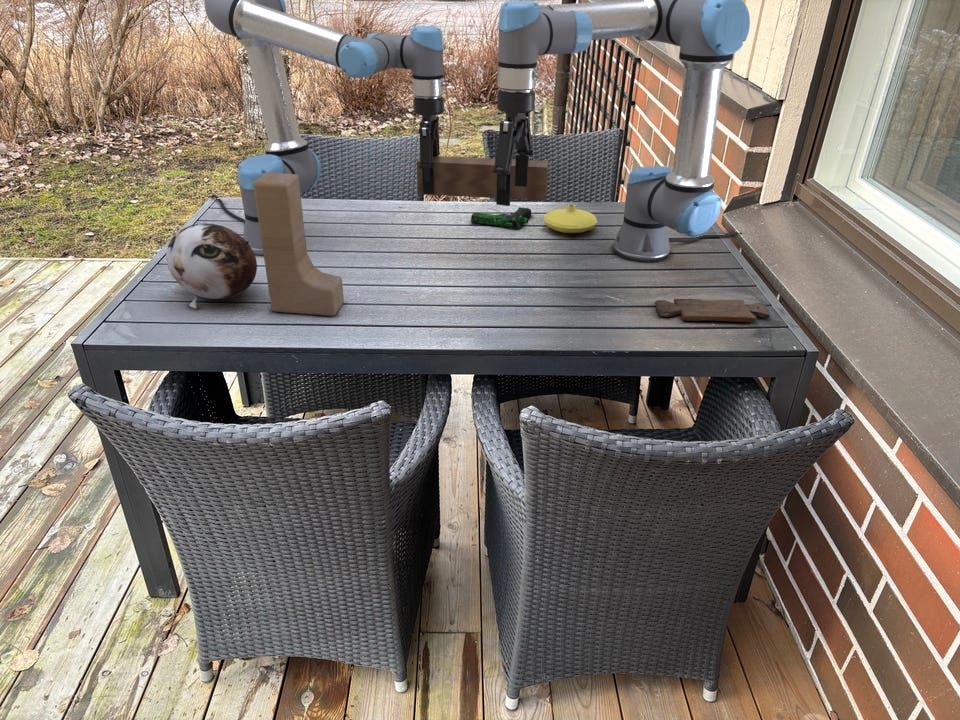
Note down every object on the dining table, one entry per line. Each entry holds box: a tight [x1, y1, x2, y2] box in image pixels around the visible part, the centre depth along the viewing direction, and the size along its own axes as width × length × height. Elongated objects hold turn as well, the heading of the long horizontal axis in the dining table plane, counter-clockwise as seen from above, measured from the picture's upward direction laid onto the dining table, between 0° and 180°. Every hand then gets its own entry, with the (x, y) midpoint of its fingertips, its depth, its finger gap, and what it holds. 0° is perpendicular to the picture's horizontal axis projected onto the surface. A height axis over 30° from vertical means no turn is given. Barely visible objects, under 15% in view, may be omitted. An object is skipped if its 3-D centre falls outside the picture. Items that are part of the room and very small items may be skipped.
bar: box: [416, 155, 550, 202], centre depth 183 cm, size 33×6×8 cm, turn 82°
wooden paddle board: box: [654, 298, 771, 323], centre depth 165 cm, size 26×2×10 cm
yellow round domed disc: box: [543, 203, 598, 234], centre depth 209 cm, size 16×16×7 cm
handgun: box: [470, 206, 532, 230], centre depth 216 cm, size 16×3×15 cm
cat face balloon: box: [165, 222, 258, 309], centre depth 165 cm, size 22×18×20 cm
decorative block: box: [253, 173, 345, 317], centre depth 157 cm, size 8×15×30 cm, turn 82°
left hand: (431, 189), depth 186 cm, fingers closed on bar, 6 cm apart
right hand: (512, 195), depth 151 cm, fingers open, 13 cm apart
